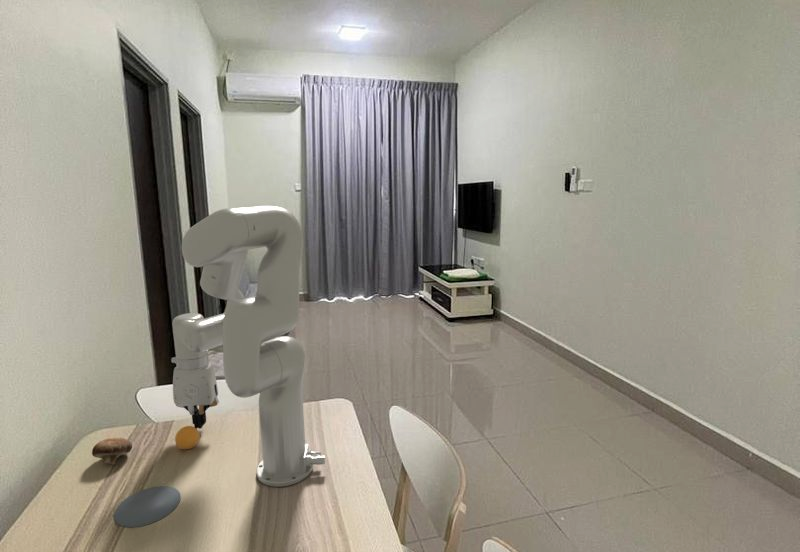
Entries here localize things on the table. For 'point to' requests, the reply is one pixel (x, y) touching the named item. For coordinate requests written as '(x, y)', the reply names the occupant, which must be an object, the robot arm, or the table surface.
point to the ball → (187, 437)
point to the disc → (147, 506)
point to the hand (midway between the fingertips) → (200, 425)
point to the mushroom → (111, 449)
